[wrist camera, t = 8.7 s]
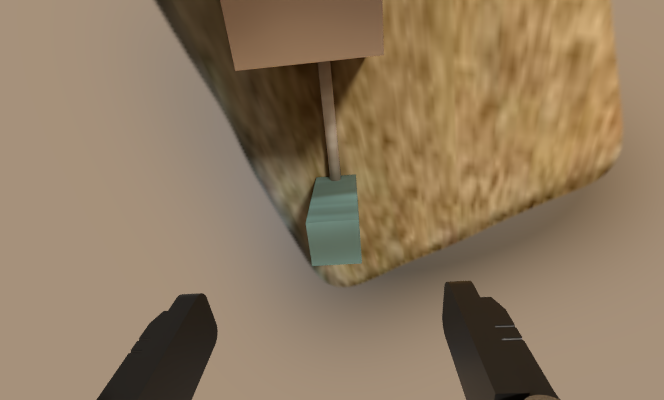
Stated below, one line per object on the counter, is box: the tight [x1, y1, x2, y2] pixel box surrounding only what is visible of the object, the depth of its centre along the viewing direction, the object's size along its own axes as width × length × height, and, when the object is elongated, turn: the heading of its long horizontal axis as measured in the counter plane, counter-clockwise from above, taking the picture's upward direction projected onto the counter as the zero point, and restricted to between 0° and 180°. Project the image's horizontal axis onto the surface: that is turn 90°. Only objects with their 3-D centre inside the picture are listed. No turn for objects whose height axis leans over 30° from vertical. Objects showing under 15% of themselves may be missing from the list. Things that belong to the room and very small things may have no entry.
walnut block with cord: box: [220, 0, 384, 266], centre depth 15 cm, size 15×5×8 cm, turn 6°
